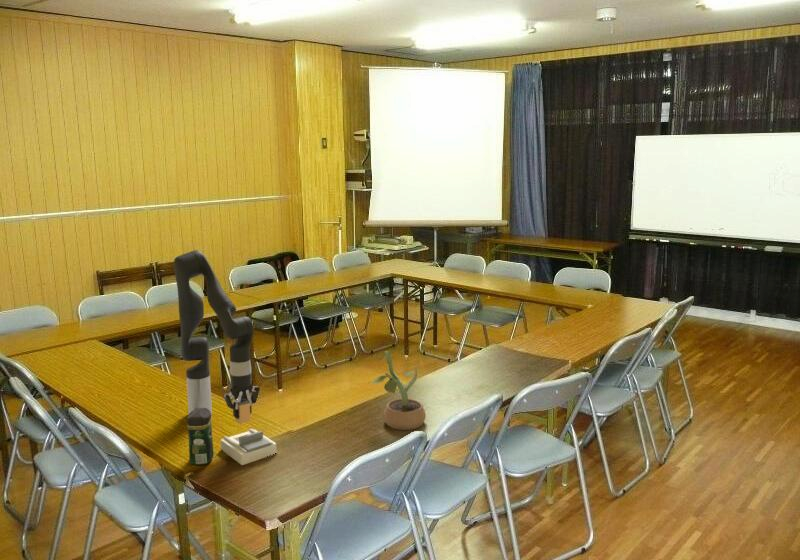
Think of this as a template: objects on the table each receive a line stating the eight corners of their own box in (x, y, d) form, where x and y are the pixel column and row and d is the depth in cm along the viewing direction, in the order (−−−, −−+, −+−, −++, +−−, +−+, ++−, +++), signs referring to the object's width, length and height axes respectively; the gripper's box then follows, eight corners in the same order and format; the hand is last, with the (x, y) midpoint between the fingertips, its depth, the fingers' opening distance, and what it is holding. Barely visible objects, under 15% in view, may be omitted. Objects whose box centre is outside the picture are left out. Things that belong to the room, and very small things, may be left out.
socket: (221, 449, 252) (220, 437, 251) (255, 439, 261) (254, 427, 260) (241, 465, 240) (241, 452, 239) (276, 453, 249) (276, 441, 248)
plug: (235, 420, 250) (234, 396, 248) (245, 417, 253) (244, 394, 251) (240, 424, 247) (239, 399, 245) (250, 421, 250) (249, 397, 248)
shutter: (239, 445, 245) (238, 437, 245) (261, 438, 251) (261, 430, 250) (247, 451, 241) (247, 443, 240) (270, 444, 246) (270, 436, 246)
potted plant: (426, 414, 285) (427, 345, 279) (424, 432, 267) (425, 359, 261) (372, 412, 286) (372, 344, 280) (367, 430, 269) (366, 357, 263)
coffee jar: (193, 454, 248) (190, 406, 244) (215, 453, 249) (212, 405, 245) (187, 466, 239) (183, 416, 235) (210, 465, 239) (207, 416, 236)
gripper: (227, 378, 239) (229, 424, 242) (263, 370, 248) (265, 414, 251) (217, 373, 245) (220, 418, 248) (253, 365, 254) (255, 408, 257)
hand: (242, 416), depth 250 cm, fingers closed on plug, 4 cm apart
